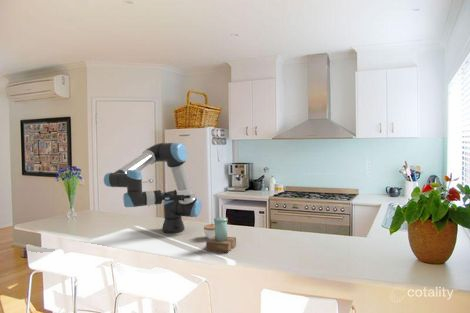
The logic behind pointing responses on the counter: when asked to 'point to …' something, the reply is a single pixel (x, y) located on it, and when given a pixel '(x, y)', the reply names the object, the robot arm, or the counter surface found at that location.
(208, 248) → the slab
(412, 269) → the counter surface
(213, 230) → the lidded jar
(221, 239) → the canister
